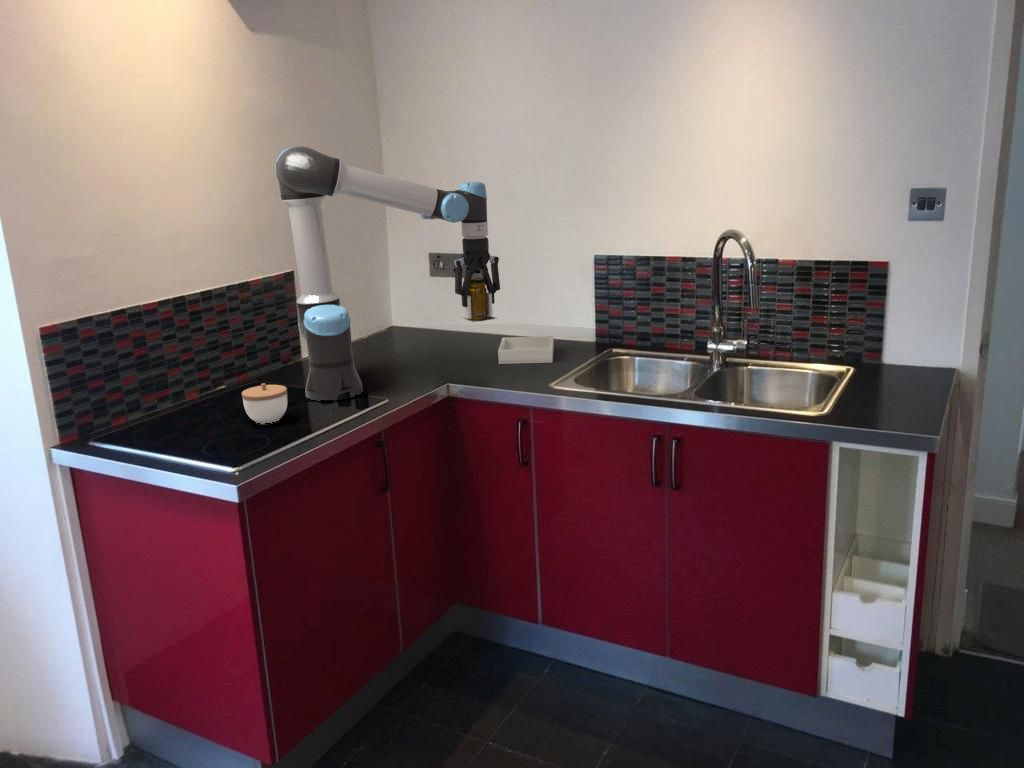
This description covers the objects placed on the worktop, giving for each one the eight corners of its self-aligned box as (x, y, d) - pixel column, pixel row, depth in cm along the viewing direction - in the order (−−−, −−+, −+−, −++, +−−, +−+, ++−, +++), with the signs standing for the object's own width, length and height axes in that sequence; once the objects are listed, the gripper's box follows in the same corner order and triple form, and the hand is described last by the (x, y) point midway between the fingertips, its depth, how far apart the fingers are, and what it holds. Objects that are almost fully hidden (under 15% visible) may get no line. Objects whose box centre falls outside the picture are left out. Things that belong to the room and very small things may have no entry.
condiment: (461, 318, 265) (460, 278, 262) (486, 314, 269) (485, 275, 266) (472, 323, 259) (471, 282, 256) (498, 319, 263) (497, 279, 260)
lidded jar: (236, 423, 219) (231, 386, 216) (272, 411, 227) (267, 376, 225) (263, 430, 212) (258, 392, 210) (299, 418, 221) (295, 381, 218)
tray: (498, 363, 265) (497, 350, 264) (503, 350, 282) (502, 337, 281) (552, 362, 264) (552, 349, 263) (553, 348, 281) (553, 336, 280)
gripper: (449, 240, 249) (454, 322, 255) (510, 235, 257) (513, 314, 263) (439, 238, 256) (444, 318, 262) (499, 233, 264) (502, 310, 270)
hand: (478, 316), depth 262 cm, fingers closed on condiment, 6 cm apart
